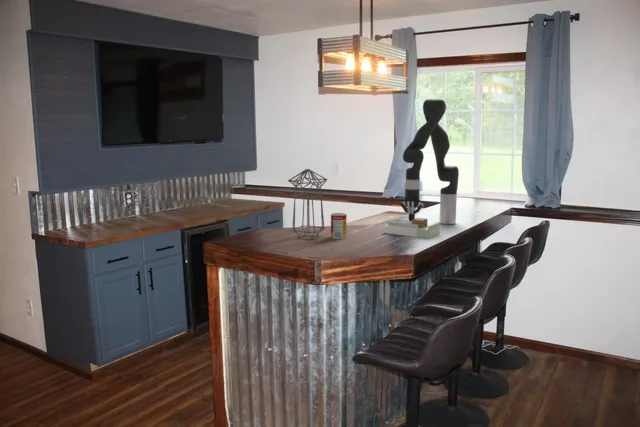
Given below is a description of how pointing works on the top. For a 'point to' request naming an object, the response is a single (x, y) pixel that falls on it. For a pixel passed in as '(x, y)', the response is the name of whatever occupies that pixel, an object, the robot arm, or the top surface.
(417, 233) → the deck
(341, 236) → the canned food
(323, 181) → the geometric lantern
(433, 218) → the top surface
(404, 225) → the channel rails
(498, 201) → the top surface
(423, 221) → the walnut block
